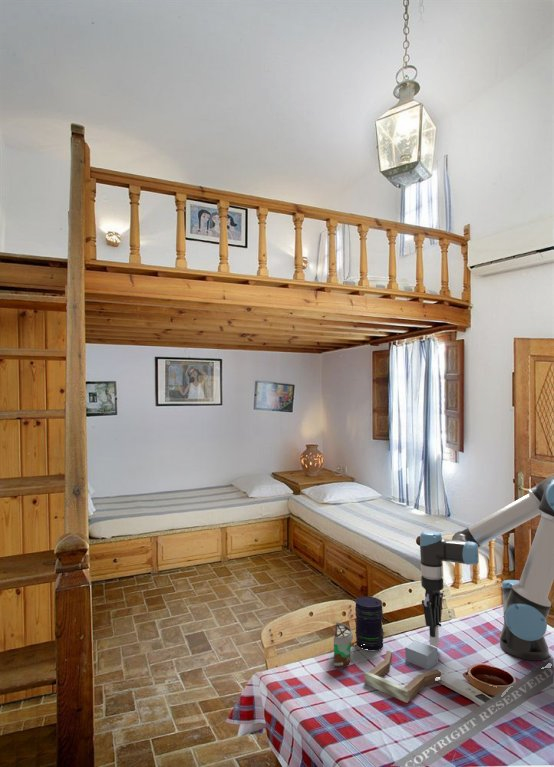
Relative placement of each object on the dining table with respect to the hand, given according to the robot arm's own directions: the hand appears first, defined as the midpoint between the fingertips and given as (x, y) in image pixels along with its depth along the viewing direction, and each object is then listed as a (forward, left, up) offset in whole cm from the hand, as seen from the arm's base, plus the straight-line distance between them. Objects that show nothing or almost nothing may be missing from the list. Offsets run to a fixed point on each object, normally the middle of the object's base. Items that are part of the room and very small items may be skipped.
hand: (434, 645), depth 155 cm
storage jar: (+19, +12, -2) cm, 23 cm away
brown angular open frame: (0, +25, -2) cm, 26 cm away
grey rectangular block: (0, +10, -2) cm, 11 cm away
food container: (+19, +28, -2) cm, 34 cm away
